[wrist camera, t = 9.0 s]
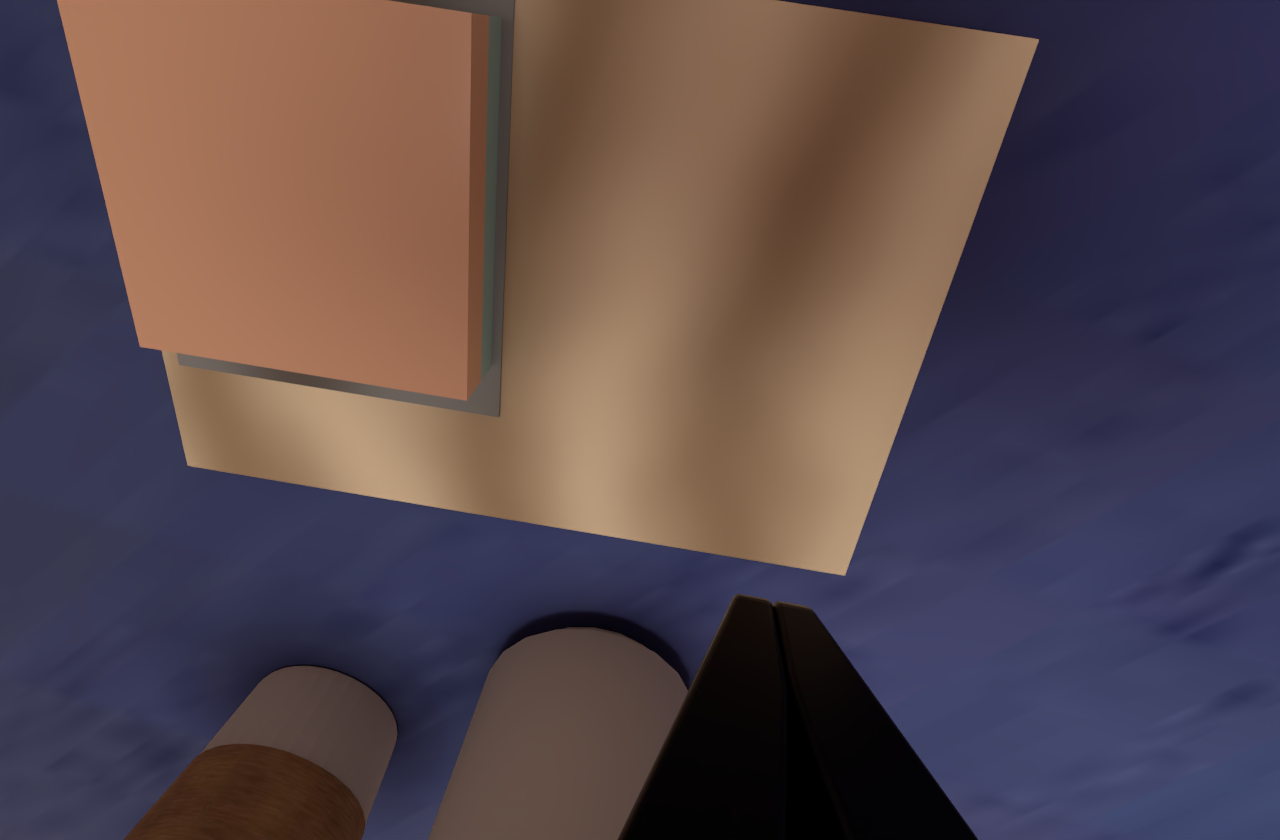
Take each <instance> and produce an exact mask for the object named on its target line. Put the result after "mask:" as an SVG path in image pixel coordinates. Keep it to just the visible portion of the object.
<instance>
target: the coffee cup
mask: <svg viewBox="0 0 1280 840" xmlns="http://www.w3.org/2000/svg"><path fill="white" fill-rule="evenodd" d="M396 739H397V725H396V721H395V718H394V716H393V713H392V712H391V710H390V709H389V707H388V706H387V704H386V703H385V702H384V701H383V700H382V699H381V698H380V697H379V696H378V695H377V694H376V693H375V692H374V691H372V690H371V689H370V688H368V687H367V686H366V685H364V684H362V683H361V682H359V681H357V680H356V679H354V678H352V677H349V676H347V675H345V674H342V673H340V672H337V671H333V670H330V669H326V668H321V667H314V666H292V667H286V668H282V669H280V670H277V671H274V672H272V673H271V674H269V675H268V676H266V677H265V678H263V679H262V681H261V682H260V683H259V684H258V685H257V686H256V687H255V689H254V690H253V691H252V692H251V693H250V695H249V696H248V697H247V698H246V699H245V700H244V702H243V703H242V704H241V705H240V706H239V708H238V709H237V710H236V711H235V712H234V714H233V715H232V716H231V717H230V719H229V720H228V721H227V722H226V723H225V725H224V726H223V727H222V728H221V729H220V731H219V732H218V733H217V734H216V735H215V737H214V738H213V739H212V740H211V741H210V743H209V744H208V745H207V746H206V747H205V749H204V750H203V751H202V752H201V753H200V754H199V755H198V756H196V757H195V758H194V760H193V761H192V762H191V763H190V764H189V765H188V766H187V768H186V769H185V770H184V771H183V772H182V773H181V775H180V776H179V777H178V778H177V779H176V780H175V781H174V783H173V784H172V785H171V786H170V787H169V788H168V789H167V791H166V792H165V793H164V794H163V795H162V796H161V797H160V799H159V800H158V801H157V802H156V803H155V804H154V805H153V807H152V808H151V809H150V810H149V811H148V812H147V813H146V815H145V816H144V817H143V818H142V819H141V820H140V822H139V823H138V824H137V825H136V826H135V827H134V828H133V830H132V831H131V832H130V833H129V834H128V835H127V836H126V838H125V839H124V840H361V839H362V836H363V833H364V829H365V824H366V822H367V819H368V816H369V814H370V811H371V808H372V806H373V803H374V800H375V798H376V795H377V792H378V790H379V787H380V785H381V782H382V779H383V777H384V774H385V771H386V769H387V766H388V763H389V761H390V758H391V755H392V752H393V750H394V747H395V744H396Z"/></svg>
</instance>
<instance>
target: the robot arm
mask: <svg viewBox="0 0 1280 840" xmlns="http://www.w3.org/2000/svg"><path fill="white" fill-rule="evenodd" d="M617 840H978V839H977V837H976V836H975V834H974V833H973V832H972V830H971V829H970V828H969V826H968V825H967V823H966V822H965V821H964V819H963V818H962V816H961V815H960V814H959V812H958V811H957V809H956V808H955V807H954V805H953V804H952V803H951V801H950V800H949V798H948V797H947V796H946V794H945V793H944V791H943V790H942V789H941V787H940V786H939V784H938V783H937V782H936V780H935V779H934V778H933V776H932V775H931V773H930V772H929V771H928V769H927V768H926V766H925V765H924V764H923V762H922V761H921V759H920V758H919V757H918V755H917V754H916V753H915V751H914V750H913V748H912V747H911V746H910V744H909V743H908V741H907V740H906V739H905V737H904V736H903V734H902V733H901V732H900V730H899V729H898V728H897V726H896V725H895V723H894V722H893V721H892V719H891V718H890V716H889V715H888V714H887V712H886V711H885V709H884V708H883V707H882V705H881V704H880V703H879V701H878V700H877V698H876V697H875V696H874V694H873V693H872V691H871V690H870V689H869V687H868V686H867V684H866V683H865V682H864V680H863V679H862V678H861V676H860V675H859V673H858V672H857V671H856V669H855V668H854V666H853V665H852V664H851V662H850V661H849V659H848V658H847V657H846V655H845V654H844V653H843V651H842V650H841V648H840V647H839V646H838V644H837V643H836V641H835V640H834V639H833V637H832V636H831V634H830V633H829V632H828V630H827V629H826V627H825V626H824V625H823V623H822V622H821V621H820V619H819V618H818V616H817V615H816V614H815V612H814V611H813V610H812V609H810V608H809V607H806V606H802V605H797V604H791V603H786V602H780V601H777V602H775V603H773V604H772V603H771V602H770V601H769V600H767V599H764V598H758V597H753V596H748V595H742V594H737V595H735V596H734V597H733V599H732V601H731V603H730V605H729V607H728V609H727V611H726V613H725V615H724V617H723V620H722V622H721V624H720V626H719V628H718V630H717V632H716V634H715V636H714V638H713V640H712V643H711V645H710V647H709V649H708V651H707V653H706V655H705V657H704V659H703V661H702V663H701V666H700V668H699V670H698V672H697V674H696V676H695V678H694V680H693V682H692V684H691V686H690V689H689V691H688V693H687V695H686V697H685V699H684V701H683V703H682V705H681V707H680V709H679V712H678V714H677V716H676V718H675V720H674V722H673V724H672V726H671V728H670V730H669V732H668V735H667V737H666V739H665V741H664V743H663V745H662V747H661V749H660V751H659V753H658V755H657V758H656V760H655V762H654V764H653V766H652V768H651V770H650V772H649V774H648V776H647V779H646V781H645V783H644V785H643V787H642V789H641V791H640V793H639V795H638V797H637V799H636V802H635V804H634V806H633V808H632V810H631V812H630V814H629V816H628V818H627V820H626V822H625V825H624V827H623V829H622V831H621V833H620V835H619V837H618V839H617Z"/></svg>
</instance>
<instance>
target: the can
mask: <svg viewBox="0 0 1280 840" xmlns="http://www.w3.org/2000/svg"><path fill="white" fill-rule="evenodd" d="M687 693H688V690H687V688H686V687H685V685H684V683H683V681H682V679H681V677H680V676H679V674H678V672H676V671H675V670H674V669H673V668H672V667H671V666H670V665H669V664H668V663H666V662H665V661H664V660H663V659H662V658H661V657H660V656H659V655H658V654H656V653H655V652H653V651H651V650H649V649H647V648H646V647H645V646H644V645H642V644H640V643H638V642H636V641H634V640H632V639H630V638H628V637H626V636H624V635H622V634H620V633H616V632H612V631H608V630H604V629H599V628H595V627H568V628H564V629H556V630H552V631H548V632H544V633H541V634H537V635H533V636H529V637H526V638H524V639H523V640H521V641H519V642H518V643H516V644H515V645H513V646H511V647H510V648H508V649H507V650H505V651H503V653H502V654H501V655H500V657H499V658H498V660H497V661H496V662H495V664H494V665H493V667H492V668H491V669H490V671H489V673H488V676H487V679H486V681H485V684H484V687H483V690H482V693H481V695H480V698H479V701H478V704H477V706H476V709H475V712H474V715H473V717H472V720H471V723H470V726H469V728H468V731H467V734H466V737H465V739H464V742H463V745H462V748H461V750H460V753H459V756H458V759H457V761H456V764H455V767H454V770H453V772H452V775H451V778H450V781H449V783H448V786H447V789H446V792H445V794H444V797H443V800H442V803H441V805H440V808H439V811H438V814H437V817H436V819H435V822H434V825H433V828H432V830H431V833H430V836H429V839H428V840H617V839H618V837H619V835H620V833H621V831H622V829H623V827H624V825H625V822H626V820H627V818H628V816H629V814H630V812H631V810H632V808H633V806H634V804H635V802H636V799H637V797H638V795H639V793H640V791H641V789H642V787H643V785H644V783H645V781H646V779H647V776H648V774H649V772H650V770H651V768H652V766H653V764H654V762H655V760H656V758H657V755H658V753H659V751H660V749H661V747H662V745H663V743H664V741H665V739H666V737H667V735H668V732H669V730H670V728H671V726H672V724H673V722H674V720H675V718H676V716H677V714H678V712H679V709H680V707H681V705H682V703H683V701H684V699H685V697H686V695H687Z"/></svg>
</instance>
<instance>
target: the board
mask: <svg viewBox="0 0 1280 840" xmlns="http://www.w3.org/2000/svg"><path fill="white" fill-rule="evenodd" d="M393 1H399V2H406V3H412V4H419V5H425V6H432V7H438V8H445V9H451V10H458V11H465V12H471V13H478V14H484V15H491V16H497V17H502V24H501V57H500V90H499V123H498V156H497V189H496V222H495V255H494V288H493V321H492V353H491V367H490V369H489V370H488V372H487V373H486V375H485V376H484V377H483V379H482V380H481V382H480V383H479V384H478V386H477V387H476V389H475V390H474V392H473V393H472V394H471V396H470V397H469V399H468V400H467V401H465V400H459V399H453V398H447V397H441V396H435V395H429V394H423V393H417V392H411V391H405V390H399V389H392V388H386V387H380V386H374V385H368V384H362V383H356V382H350V381H344V380H338V379H332V378H326V377H320V376H314V375H308V374H302V373H296V372H290V371H284V370H278V369H272V368H265V367H259V366H253V365H247V364H241V363H235V362H229V361H223V360H217V359H211V358H205V357H199V356H193V355H187V354H181V353H175V352H169V351H163V350H162V354H163V358H164V363H165V367H166V372H167V376H168V380H169V385H170V389H171V394H172V398H173V403H174V407H175V411H176V416H177V420H178V425H179V429H180V434H181V438H182V443H183V447H184V451H185V456H186V460H187V465H188V466H192V467H198V468H204V469H210V470H216V471H222V472H228V473H234V474H240V475H246V476H252V477H258V478H264V479H270V480H276V481H282V482H288V483H294V484H300V485H306V486H312V487H318V488H324V489H330V490H336V491H342V492H348V493H354V494H360V495H366V496H372V497H378V498H384V499H390V500H396V501H402V502H408V503H414V504H420V505H426V506H431V507H437V508H443V509H449V510H455V511H461V512H467V513H473V514H479V515H485V516H491V517H497V518H503V519H509V520H515V521H521V522H527V523H533V524H539V525H545V526H551V527H557V528H563V529H569V530H575V531H581V532H587V533H593V534H599V535H605V536H611V537H617V538H623V539H629V540H635V541H641V542H647V543H653V544H659V545H665V546H670V547H676V548H682V549H688V550H694V551H700V552H706V553H712V554H718V555H724V556H730V557H736V558H742V559H748V560H754V561H760V562H766V563H772V564H778V565H784V566H790V567H796V568H802V569H808V570H814V571H820V572H826V573H832V574H838V575H844V576H845V574H846V571H847V568H848V566H849V563H850V560H851V557H852V555H853V552H854V549H855V546H856V544H857V541H858V538H859V535H860V532H861V530H862V527H863V524H864V521H865V519H866V516H867V513H868V510H869V508H870V505H871V502H872V499H873V497H874V494H875V491H876V488H877V486H878V483H879V480H880V477H881V475H882V472H883V469H884V466H885V464H886V461H887V458H888V455H889V452H890V450H891V447H892V444H893V441H894V439H895V436H896V433H897V430H898V428H899V425H900V422H901V419H902V417H903V414H904V411H905V408H906V406H907V403H908V400H909V397H910V395H911V392H912V389H913V386H914V384H915V381H916V378H917V375H918V373H919V370H920V367H921V364H922V361H923V359H924V356H925V353H926V350H927V348H928V345H929V342H930V339H931V337H932V334H933V331H934V328H935V326H936V323H937V320H938V317H939V315H940V312H941V309H942V306H943V304H944V301H945V298H946V295H947V293H948V290H949V287H950V284H951V282H952V279H953V276H954V273H955V270H956V268H957V265H958V262H959V259H960V257H961V254H962V251H963V248H964V246H965V243H966V240H967V237H968V235H969V232H970V229H971V226H972V224H973V221H974V218H975V215H976V213H977V210H978V207H979V204H980V202H981V199H982V196H983V193H984V190H985V188H986V185H987V182H988V179H989V177H990V174H991V171H992V168H993V166H994V163H995V160H996V157H997V155H998V152H999V149H1000V146H1001V144H1002V141H1003V138H1004V135H1005V133H1006V130H1007V127H1008V124H1009V122H1010V119H1011V116H1012V113H1013V111H1014V108H1015V105H1016V102H1017V99H1018V97H1019V94H1020V91H1021V88H1022V86H1023V83H1024V80H1025V77H1026V75H1027V72H1028V69H1029V66H1030V64H1031V61H1032V58H1033V55H1034V53H1035V50H1036V47H1037V44H1038V42H1039V39H1034V38H1027V37H1020V36H1014V35H1007V34H1000V33H993V32H987V31H980V30H973V29H967V28H960V27H953V26H946V25H940V24H933V23H926V22H919V21H913V20H906V19H899V18H892V17H886V16H879V15H872V14H866V13H859V12H852V11H845V10H839V9H832V8H825V7H818V6H812V5H805V4H798V3H791V2H785V1H778V0H393Z"/></svg>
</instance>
